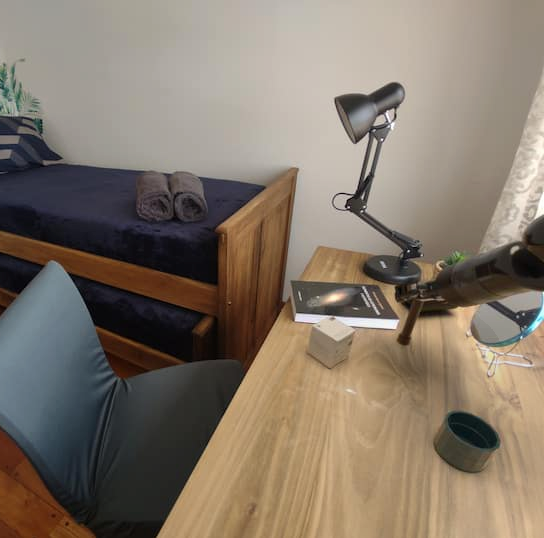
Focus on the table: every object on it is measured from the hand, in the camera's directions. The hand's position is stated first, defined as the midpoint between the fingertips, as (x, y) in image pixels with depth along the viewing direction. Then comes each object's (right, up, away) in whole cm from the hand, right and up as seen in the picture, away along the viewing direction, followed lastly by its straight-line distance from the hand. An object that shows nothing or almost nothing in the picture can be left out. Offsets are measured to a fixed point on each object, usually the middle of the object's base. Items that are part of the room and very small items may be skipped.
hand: (419, 298), depth 73 cm
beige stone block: (-18, -12, +3) cm, 22 cm away
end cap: (+12, -4, +16) cm, 20 cm away
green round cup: (-5, -23, -16) cm, 29 cm away
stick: (0, -10, +6) cm, 12 cm away
